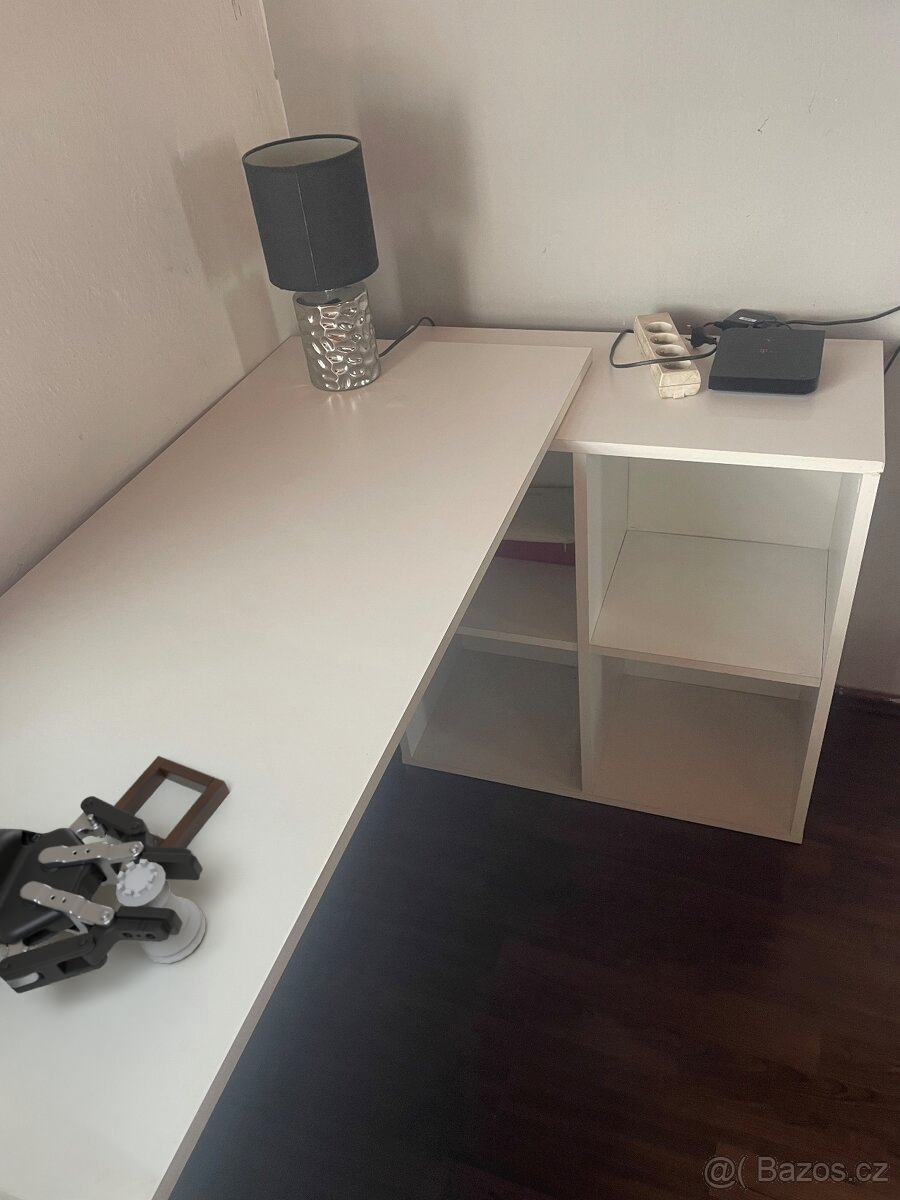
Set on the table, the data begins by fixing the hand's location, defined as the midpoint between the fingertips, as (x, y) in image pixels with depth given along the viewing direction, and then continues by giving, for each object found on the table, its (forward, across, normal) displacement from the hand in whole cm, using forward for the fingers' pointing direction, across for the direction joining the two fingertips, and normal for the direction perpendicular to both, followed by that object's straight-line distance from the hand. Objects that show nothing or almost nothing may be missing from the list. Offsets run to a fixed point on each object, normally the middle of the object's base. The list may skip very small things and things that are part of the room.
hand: (186, 893), depth 57 cm
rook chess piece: (-3, 0, +6) cm, 7 cm away
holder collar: (-7, +10, +6) cm, 14 cm away
